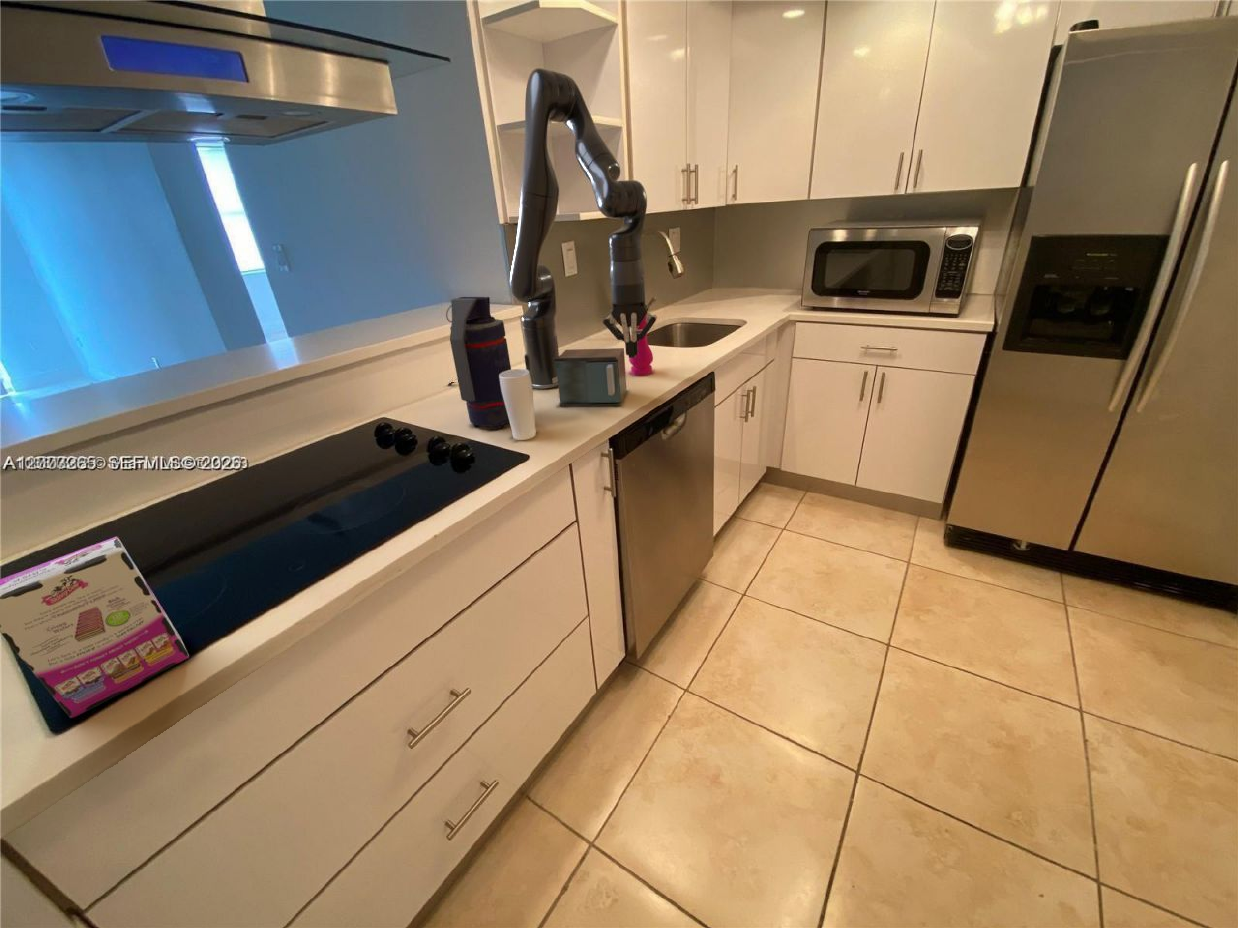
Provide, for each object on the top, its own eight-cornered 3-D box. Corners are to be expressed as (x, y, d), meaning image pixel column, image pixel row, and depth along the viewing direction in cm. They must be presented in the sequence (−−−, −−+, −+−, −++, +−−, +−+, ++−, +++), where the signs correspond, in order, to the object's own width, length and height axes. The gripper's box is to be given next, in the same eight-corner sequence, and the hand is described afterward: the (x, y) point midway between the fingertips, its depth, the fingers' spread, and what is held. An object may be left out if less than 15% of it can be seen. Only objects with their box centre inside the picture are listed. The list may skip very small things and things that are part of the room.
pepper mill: (654, 368, 161) (651, 302, 152) (653, 375, 154) (650, 306, 145) (630, 369, 162) (626, 303, 153) (628, 376, 155) (624, 308, 146)
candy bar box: (182, 639, 67) (119, 533, 60) (191, 658, 64) (126, 548, 57) (65, 697, 60) (-24, 584, 53) (69, 721, 57) (-25, 605, 49)
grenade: (491, 411, 137) (468, 292, 123) (528, 415, 132) (509, 292, 118) (455, 431, 126) (426, 303, 112) (494, 436, 121) (468, 303, 107)
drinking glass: (513, 431, 123) (502, 369, 116) (541, 429, 123) (532, 367, 116) (506, 443, 117) (495, 378, 110) (536, 441, 116) (526, 376, 110)
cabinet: (559, 406, 136) (553, 358, 130) (570, 391, 146) (565, 346, 141) (619, 406, 133) (616, 357, 128) (626, 391, 143) (623, 345, 138)
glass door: (586, 406, 132) (582, 366, 127) (589, 401, 135) (585, 362, 130) (617, 406, 130) (614, 366, 126) (619, 401, 133) (617, 361, 129)
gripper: (658, 277, 119) (661, 352, 127) (602, 280, 122) (608, 353, 129) (655, 282, 113) (658, 360, 120) (595, 285, 115) (602, 362, 123)
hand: (632, 356), depth 125 cm, fingers closed
